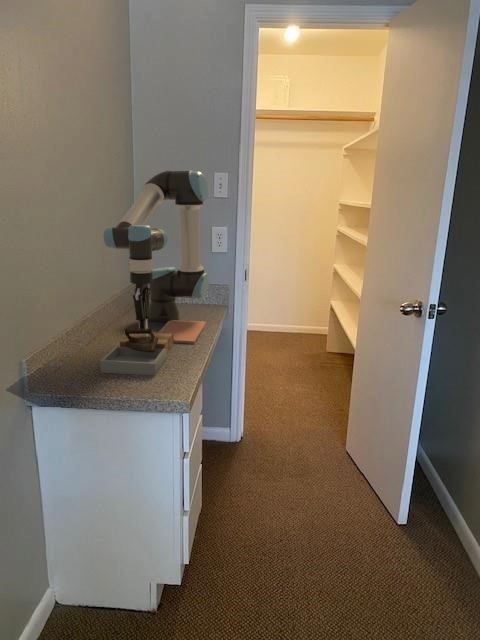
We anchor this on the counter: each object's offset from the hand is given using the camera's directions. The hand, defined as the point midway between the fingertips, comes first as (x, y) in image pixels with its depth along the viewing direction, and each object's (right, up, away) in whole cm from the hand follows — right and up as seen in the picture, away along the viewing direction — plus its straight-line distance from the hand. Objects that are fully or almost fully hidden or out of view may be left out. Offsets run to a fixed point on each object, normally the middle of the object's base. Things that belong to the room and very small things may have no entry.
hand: (143, 337), depth 160 cm
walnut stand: (0, -5, +6) cm, 8 cm away
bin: (-1, -9, -8) cm, 12 cm away
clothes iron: (0, -3, -2) cm, 4 cm away
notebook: (+10, 0, +28) cm, 29 cm away
